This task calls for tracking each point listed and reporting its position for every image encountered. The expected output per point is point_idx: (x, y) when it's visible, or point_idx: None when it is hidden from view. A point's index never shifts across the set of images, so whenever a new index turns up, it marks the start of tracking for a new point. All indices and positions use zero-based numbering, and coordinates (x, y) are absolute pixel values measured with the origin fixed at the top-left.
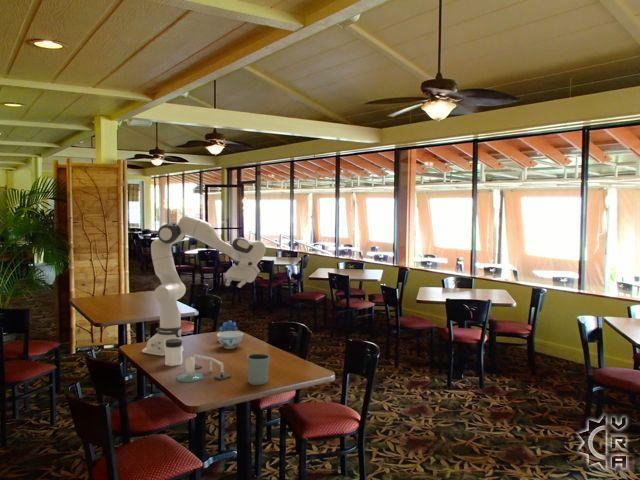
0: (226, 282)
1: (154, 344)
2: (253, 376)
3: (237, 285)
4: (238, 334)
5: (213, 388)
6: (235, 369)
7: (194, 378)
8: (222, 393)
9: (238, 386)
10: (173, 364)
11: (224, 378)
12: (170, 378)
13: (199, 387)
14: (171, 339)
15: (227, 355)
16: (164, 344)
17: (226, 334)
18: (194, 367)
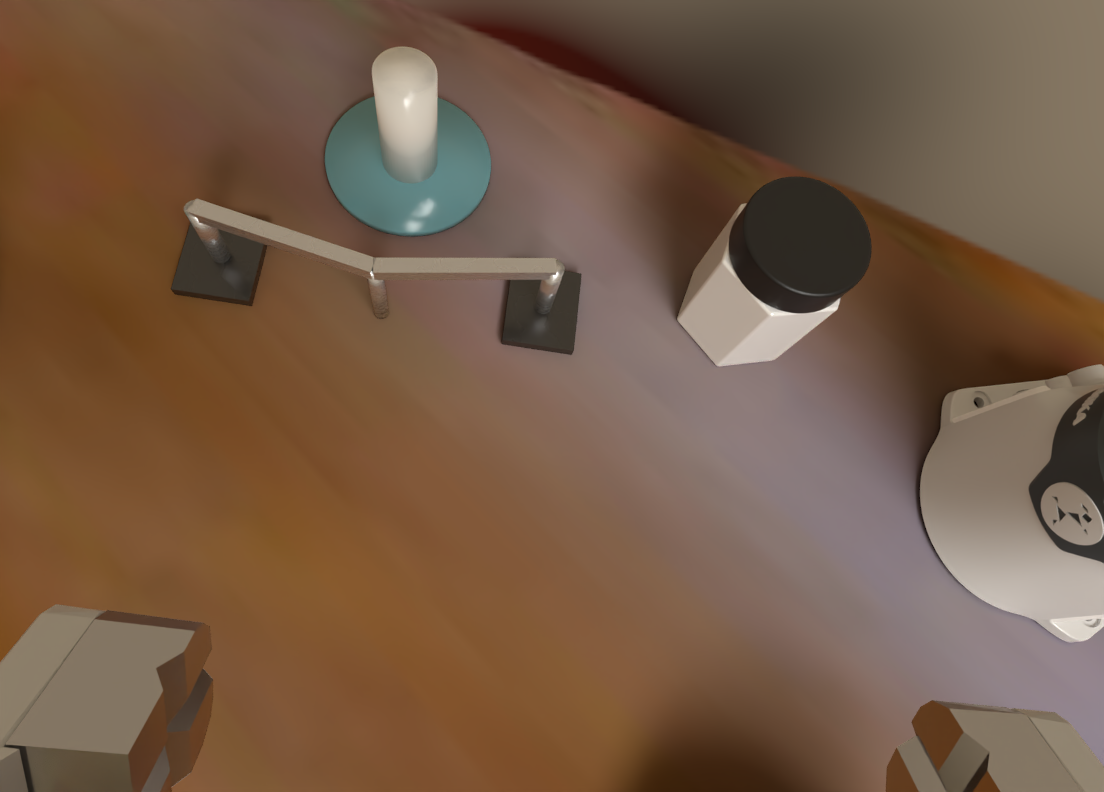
0: (1092, 777)
1: (1078, 377)
2: None
3: (164, 621)
4: None
5: (142, 97)
6: (261, 450)
7: (360, 148)
8: (32, 61)
9: (8, 189)
10: (694, 273)
11: (187, 244)
12: (505, 108)
13: (234, 75)
14: (857, 252)
15: (585, 711)
16: (1010, 397)
17: None
18: (381, 133)
